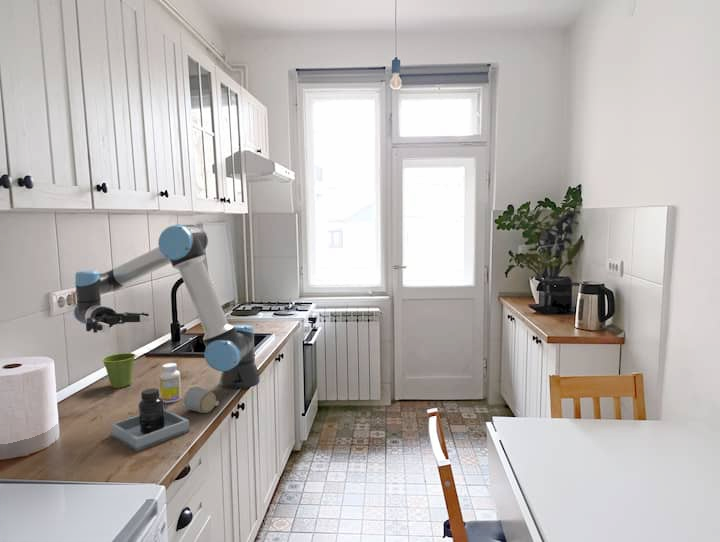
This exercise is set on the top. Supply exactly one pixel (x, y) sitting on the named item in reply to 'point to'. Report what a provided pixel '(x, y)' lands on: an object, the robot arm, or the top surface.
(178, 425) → the tray
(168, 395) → the supplement bottle
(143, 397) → the supplement bottle
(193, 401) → the ceramic mug
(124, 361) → the plant pot
